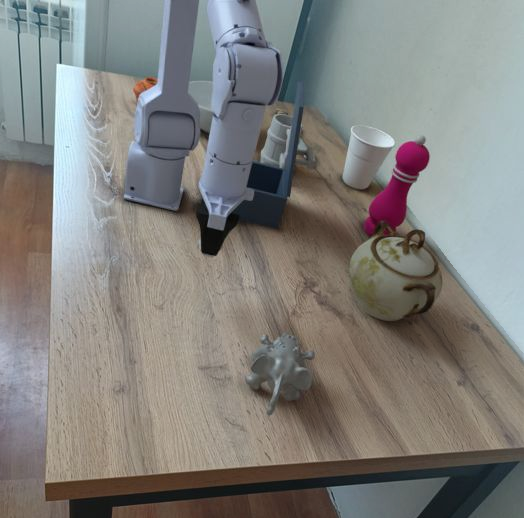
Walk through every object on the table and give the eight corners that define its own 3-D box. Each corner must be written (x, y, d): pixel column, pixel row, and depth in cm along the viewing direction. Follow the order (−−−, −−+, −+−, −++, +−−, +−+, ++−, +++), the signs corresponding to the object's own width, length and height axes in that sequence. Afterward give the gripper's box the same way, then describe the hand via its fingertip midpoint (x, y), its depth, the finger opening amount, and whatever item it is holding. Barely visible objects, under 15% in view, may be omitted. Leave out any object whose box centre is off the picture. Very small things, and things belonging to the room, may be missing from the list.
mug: (289, 159, 121) (305, 106, 113) (298, 186, 113) (316, 131, 105) (256, 153, 119) (270, 98, 111) (263, 180, 111) (278, 123, 103)
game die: (226, 255, 76) (230, 238, 74) (207, 263, 74) (211, 245, 72) (210, 242, 77) (213, 224, 75) (190, 249, 75) (194, 231, 73)
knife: (325, 166, 121) (306, 161, 119) (321, 172, 122) (302, 167, 120) (292, 111, 138) (275, 106, 136) (290, 117, 139) (273, 112, 137)
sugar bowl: (444, 346, 86) (494, 272, 76) (363, 348, 81) (405, 269, 71) (393, 269, 99) (430, 197, 89) (320, 266, 94) (350, 189, 83)
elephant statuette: (299, 362, 75) (316, 323, 70) (316, 433, 67) (337, 394, 62) (235, 358, 73) (248, 316, 68) (245, 431, 65) (260, 390, 59)
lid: (299, 106, 84) (327, 110, 84) (297, 81, 92) (323, 84, 92) (286, 196, 94) (311, 199, 94) (285, 166, 103) (309, 169, 103)
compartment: (199, 211, 97) (205, 179, 92) (206, 180, 105) (211, 150, 101) (278, 229, 99) (287, 199, 95) (278, 198, 107) (287, 169, 103)
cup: (327, 180, 118) (344, 132, 111) (342, 167, 125) (360, 120, 118) (367, 200, 116) (387, 152, 109) (381, 185, 123) (401, 139, 116)
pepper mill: (394, 246, 105) (443, 149, 91) (359, 234, 105) (403, 136, 91) (395, 228, 110) (441, 134, 97) (362, 217, 110) (403, 121, 96)
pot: (126, 107, 118) (130, 74, 115) (137, 104, 125) (141, 73, 122) (161, 117, 118) (166, 84, 115) (170, 114, 125) (175, 83, 122)
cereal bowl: (164, 126, 117) (168, 93, 112) (193, 104, 129) (198, 73, 125) (237, 153, 116) (244, 121, 112) (259, 129, 129) (266, 99, 124)
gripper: (260, 190, 61) (235, 283, 70) (263, 136, 71) (241, 223, 80) (198, 174, 60) (181, 271, 69) (211, 122, 70) (194, 212, 79)
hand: (210, 245), depth 74 cm, fingers closed on game die, 3 cm apart
